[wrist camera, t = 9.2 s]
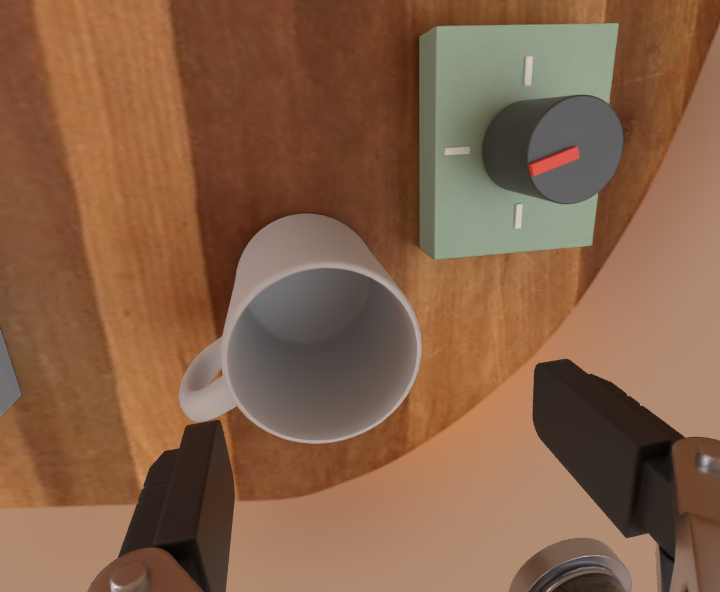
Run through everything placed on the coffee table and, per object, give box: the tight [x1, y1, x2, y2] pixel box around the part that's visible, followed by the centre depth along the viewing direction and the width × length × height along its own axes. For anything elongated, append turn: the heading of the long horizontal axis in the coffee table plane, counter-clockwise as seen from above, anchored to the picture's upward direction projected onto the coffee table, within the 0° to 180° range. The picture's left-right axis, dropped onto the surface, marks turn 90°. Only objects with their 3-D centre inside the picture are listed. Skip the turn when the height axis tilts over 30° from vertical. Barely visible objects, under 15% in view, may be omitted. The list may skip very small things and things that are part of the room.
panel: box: [419, 23, 619, 260], centre depth 28 cm, size 12×10×3 cm
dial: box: [482, 95, 624, 204], centre depth 24 cm, size 5×5×5 cm
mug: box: [178, 213, 422, 444], centre depth 25 cm, size 12×8×11 cm
